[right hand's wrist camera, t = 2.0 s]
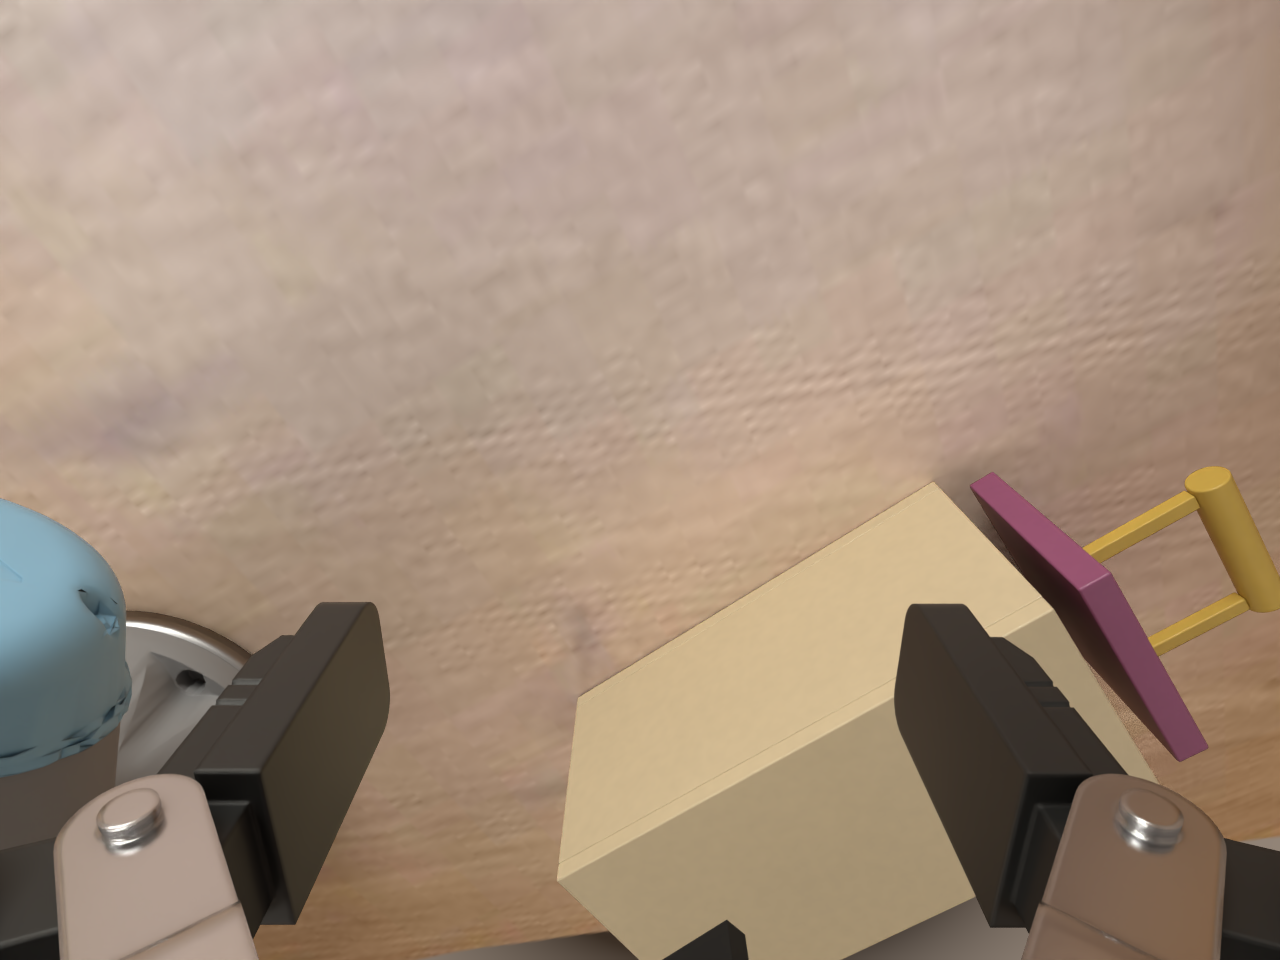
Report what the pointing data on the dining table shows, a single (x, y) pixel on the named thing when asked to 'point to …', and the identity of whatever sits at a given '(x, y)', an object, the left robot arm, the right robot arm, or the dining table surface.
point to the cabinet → (796, 751)
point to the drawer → (1102, 609)
